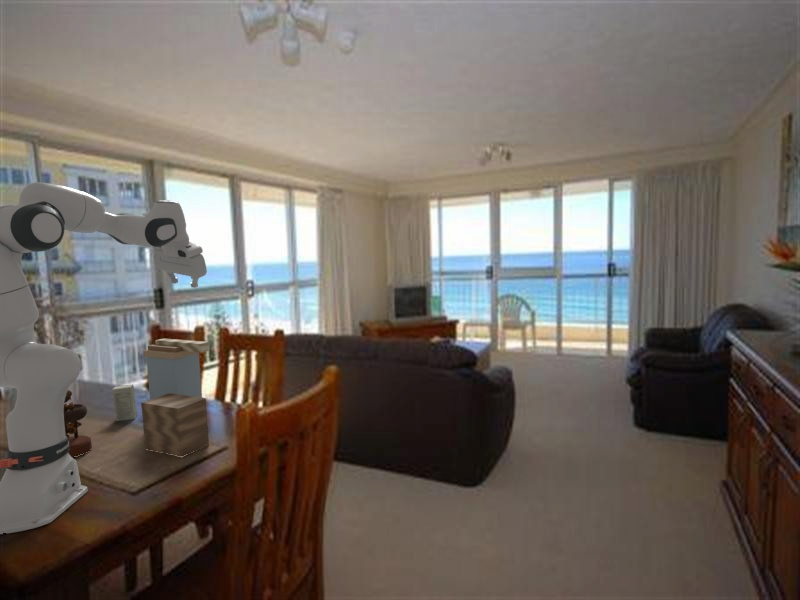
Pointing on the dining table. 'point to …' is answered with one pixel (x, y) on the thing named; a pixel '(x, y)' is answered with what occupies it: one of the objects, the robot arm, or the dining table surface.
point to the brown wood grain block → (175, 424)
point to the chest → (173, 371)
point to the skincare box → (124, 402)
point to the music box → (75, 427)
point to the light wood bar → (185, 345)
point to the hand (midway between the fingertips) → (184, 284)
